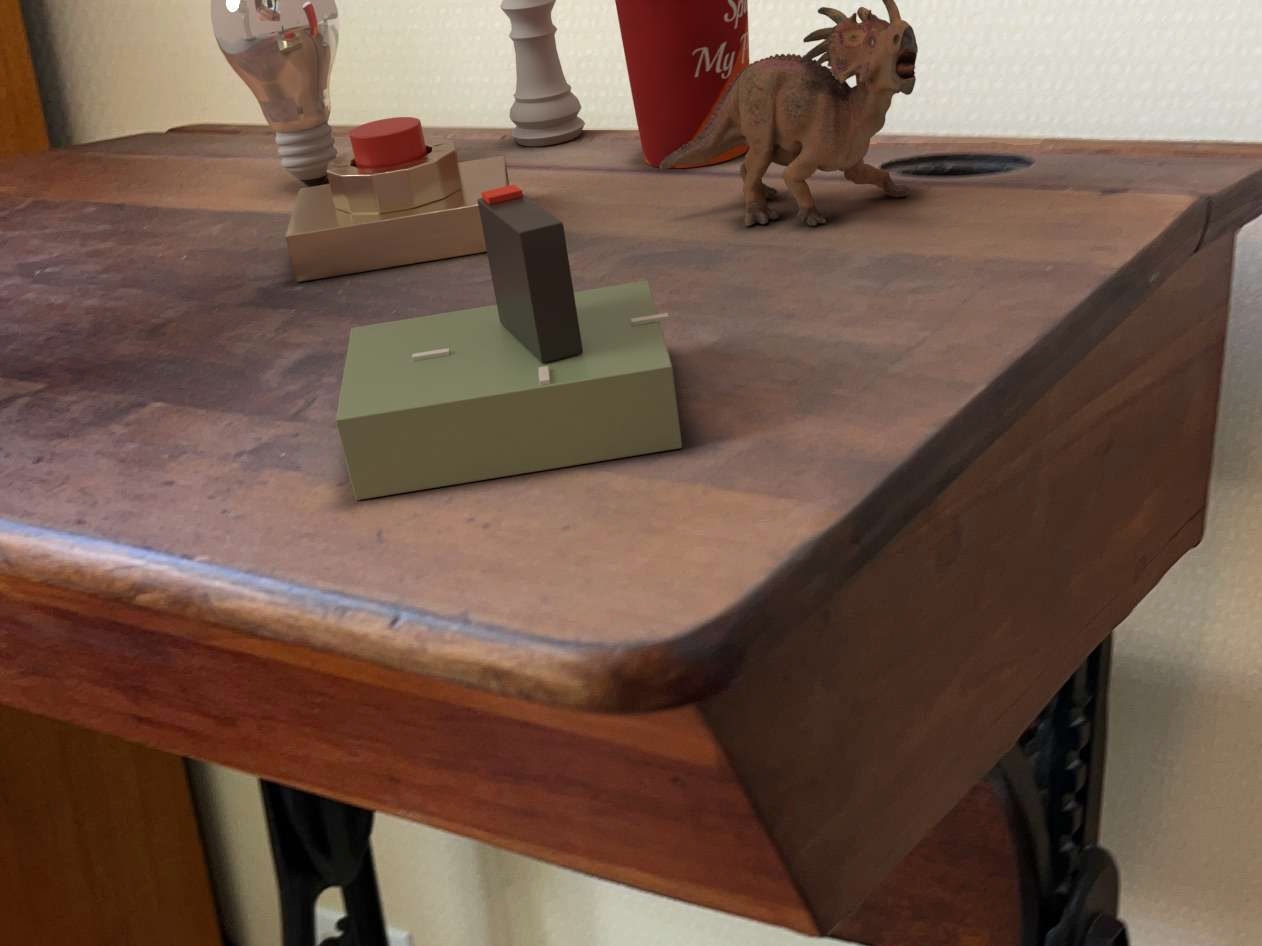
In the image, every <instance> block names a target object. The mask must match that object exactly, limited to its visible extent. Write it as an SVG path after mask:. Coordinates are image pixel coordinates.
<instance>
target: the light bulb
mask: <svg viewBox="0 0 1262 946" xmlns="http://www.w3.org/2000/svg"><path fill="white" fill-rule="evenodd" d="M210 20H211V25H212V32H213V35H214V37H215V41H216V43H217V45H218V46H217V47H218V49H219V50H220V52H221V54H222V56H223V58H224V60H225V61H226V62H227V64H228V65H229V67H230V68H231V69H232V70H233V71H234V73H235V74H236V75H237V76H238V78H240V79H241V81H242V82H243V83H244V84H245V86H247V88H248V89H249V90H250V91H251V93H252V94H253V96H254V97H255V99H256V100H257V102H258V104H259V106H260V109H261V112H262V114H263V117H264V119H265V121H266V122H267V124H268V125H269V127H271V129H272V130H273V131H274V132H275V134H276V136H275V138H274V139H275V140H274V142H275V144H276V145H278V150H277V153H278V156H280V157H281V158H282V159H281V161H280V165H281V166H282V167H283V168H284V169H285V170H286V171H287V172H288V173H289V174H291V175H292V176H293V178H295V179H297V180H299V181H300V182H302V183H304V185H305V186H319V185H322V184H323V183H324V182H326V179H327V178H328V176H327V167H328V164H329V162H330V161H332V160H333V159H335V158H337V155H338V150H337V148H336V147H334V145H335V142H336V140H335V137H334V136H332V134H331V133H332V132H333V128H332V126H331V125H329V120H330V119H329V118H330V115H331V109H332V102H331V89H330V83H331V75H332V71H333V67H334V63H335V59H336V56H337V52H338V47H339V42H340V29H341V27H340V25H341V24H340V17H339V10H338V7H337V4H336V0H211V1H210Z"/></svg>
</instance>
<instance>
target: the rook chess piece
mask: <svg viewBox="0 0 1262 946" xmlns="http://www.w3.org/2000/svg"><path fill="white" fill-rule="evenodd" d="M556 2H557V0H502V1H501V3H500V6H499V8H500V9H501V10H502V12H503V13H504V15H506V16H507V18H508V19H509V21H510V26H511V30H510V32H509V35H508V37H509V38H510V40H511V41H512V43H513V48H514V54H515V71H516V73H515V74H516V76H515V77H516V85H515V92H514V93H513V99H514V102H513V103H512V105H511V107H510V109H509V119H510V121H511V122H512V123H513V124H514V125H515V127H514V128H513V130H512V131H511V133H510V134H511V136H512V138H513V139H514V140H515V141H516V143H518V144H519V145H520V146H523V147H545V146H551V145H558V144H561V143H564V142H568V141H571V140H573V139H575V138H578V137H579V136H580V134H582V131H583V129H584V127H585V124H586V122H585V121H584V120H583V119H582V118H580V117H579V116H578V115H579V113H580V111H581V109H582V105H581V102H580V100H579V99H578V97H577V96H576V95H575V94H574V93H573V92H572V87H571V84H570V83H568V82H567V80H566V77H565V75H564V72H563V68H562V63H561V61H560V57H559V53H558V49H557V42H556V36H555V35H556V33H557V31H558V28H557V26H556V25H554V23H553V20H552V19H553V18H552V11H553V9H554V7H555V4H556Z"/></svg>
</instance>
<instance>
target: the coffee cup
mask: <svg viewBox="0 0 1262 946" xmlns="http://www.w3.org/2000/svg"><path fill="white" fill-rule="evenodd" d="M748 1H749V0H614V3H615V7H616V14H617V20H618V24H619V31H620V36H621V41H622V42H621V43H622V47H623V53H624V54H623V55H624V59H625V63H626V64H625V65H626V70H627V75H628V76H627V77H628V81H629V86H630V93H631V98H632V103H633V109H634V113H635V118H636V124H637V129H638V134H639V139H640V146H641V148H642V153H643V158H644V160H645V163H646V164H648V165H649V166H652V167H656V168H660V165H661V162H662V161H663V160H664V159H665V157H668V156H669V155H670V154H672V153H673V152H675V151H677V150H678V149H679V148H682V146H683V145H685V144H688V142H690V141H694V139H695V138H697V137H698V134H700V133H701V132H702V131H703V130H704V127H705V126H706V125H707V122H708V121H709V120H711V119H710V118H711V116H712V115H714V110H716V109H717V108H716V106H717V105H718V104H720V100H721V99H722V98H723V94H724V93H726V92H727V89H729V88H730V86H729V84H730V83H734V81H733V79H734V78H737V74H738V73H739V74H741V70H742V69H744V70H745V69H746V66H749V65H750V64H751V63H750V40H749V39H750V38H749V36H750V35H749V5H748V4H749V3H748ZM749 149H750V147H748V146H739V147H735V148H733V149H731V150H729V151H727V152H726V153H724V154H722V155H720V156H718V157H716V158H714V159H712V160H711V161H708V162H706V163H702V164H696V165H679V166H673V167H670V168H669V169H689V168H697V167H703V166H710V165H714V164H718V163H722V162H727V161H730V160H732V159H735V158H738V157H740V156H743V155H744V154H745V153H747V152H748V151H749Z"/></svg>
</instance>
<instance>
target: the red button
mask: <svg viewBox="0 0 1262 946" xmlns="http://www.w3.org/2000/svg"><path fill="white" fill-rule="evenodd" d="M348 136H349V140H350V144H351V148H352V150H353V153H354V157H355V162H356V166H357V168H381V167H387V166H393V165H400V164H404V163H407V162H411V161H414V160H417V159H420V158H422V157H424V156H426V155H427V151H426V146H425V141H424V138H425V136H424V131H423V126H422V122H421V119H419V118H417V117H412V116H397V117H389V118H383V119H377V120H373V121H370V122H366V123H363V124H360V125H357V126H356V127H354V128H353V129H351V130H350V131H349V135H348Z"/></svg>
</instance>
